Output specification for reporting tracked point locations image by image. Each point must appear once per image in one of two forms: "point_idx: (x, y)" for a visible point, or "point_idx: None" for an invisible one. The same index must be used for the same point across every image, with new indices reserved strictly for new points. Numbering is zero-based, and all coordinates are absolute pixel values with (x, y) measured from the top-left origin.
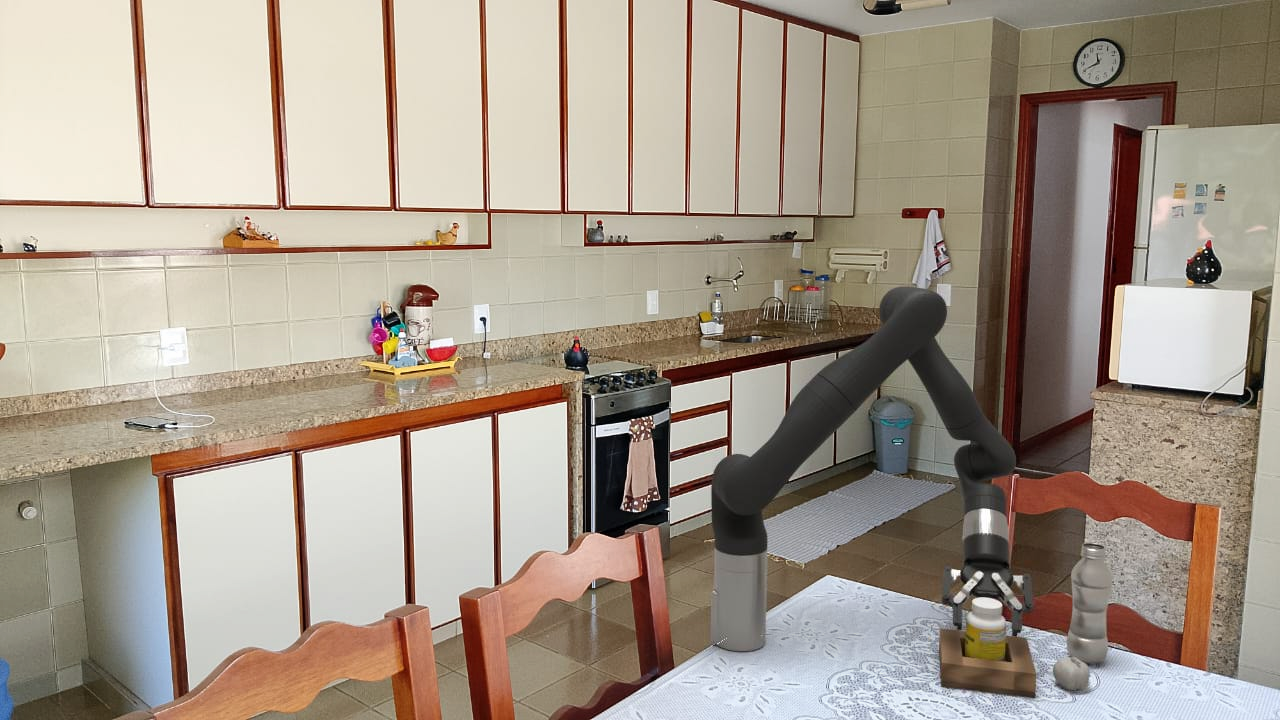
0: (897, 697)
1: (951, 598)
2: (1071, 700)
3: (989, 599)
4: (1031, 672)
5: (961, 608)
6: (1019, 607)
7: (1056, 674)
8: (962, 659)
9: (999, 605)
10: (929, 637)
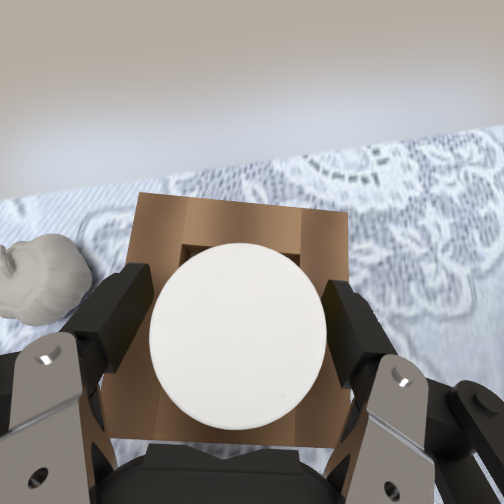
0: (395, 178)
1: (432, 401)
2: (90, 219)
3: (215, 395)
4: (149, 198)
5: (358, 332)
6: (46, 344)
7: (83, 267)
8: (300, 239)
9: (172, 297)
10: None
